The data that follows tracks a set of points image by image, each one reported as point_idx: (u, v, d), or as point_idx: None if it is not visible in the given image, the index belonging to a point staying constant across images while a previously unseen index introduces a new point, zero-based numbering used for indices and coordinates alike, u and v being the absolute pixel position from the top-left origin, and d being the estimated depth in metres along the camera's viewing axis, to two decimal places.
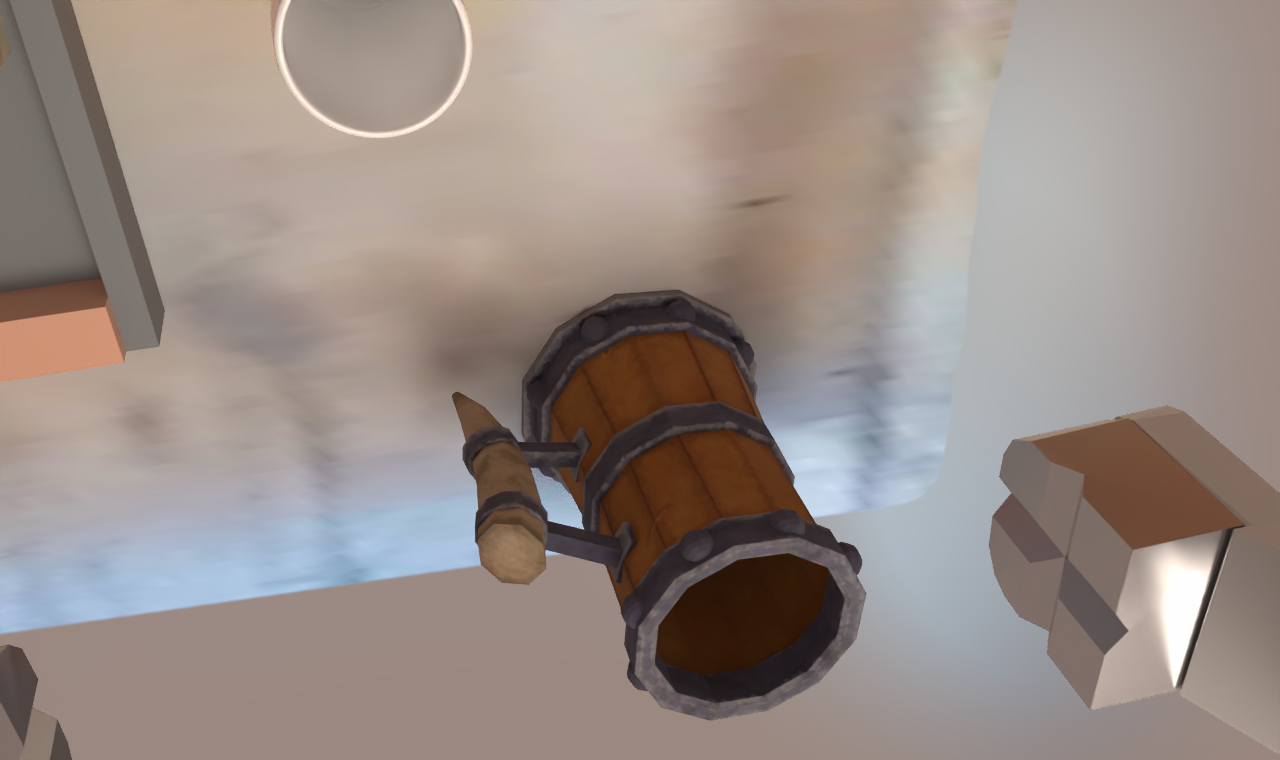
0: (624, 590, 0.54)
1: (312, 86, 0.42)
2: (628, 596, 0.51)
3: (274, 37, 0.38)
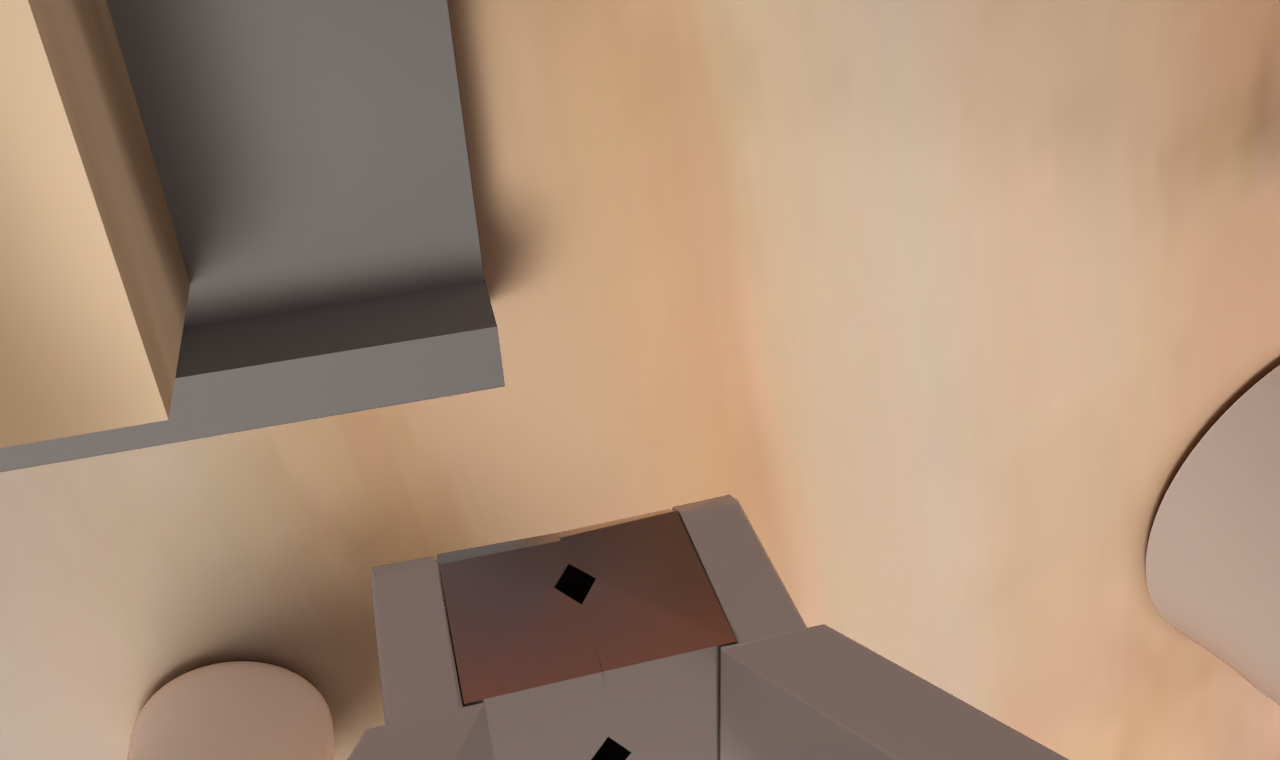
0: None
1: None
2: None
3: None
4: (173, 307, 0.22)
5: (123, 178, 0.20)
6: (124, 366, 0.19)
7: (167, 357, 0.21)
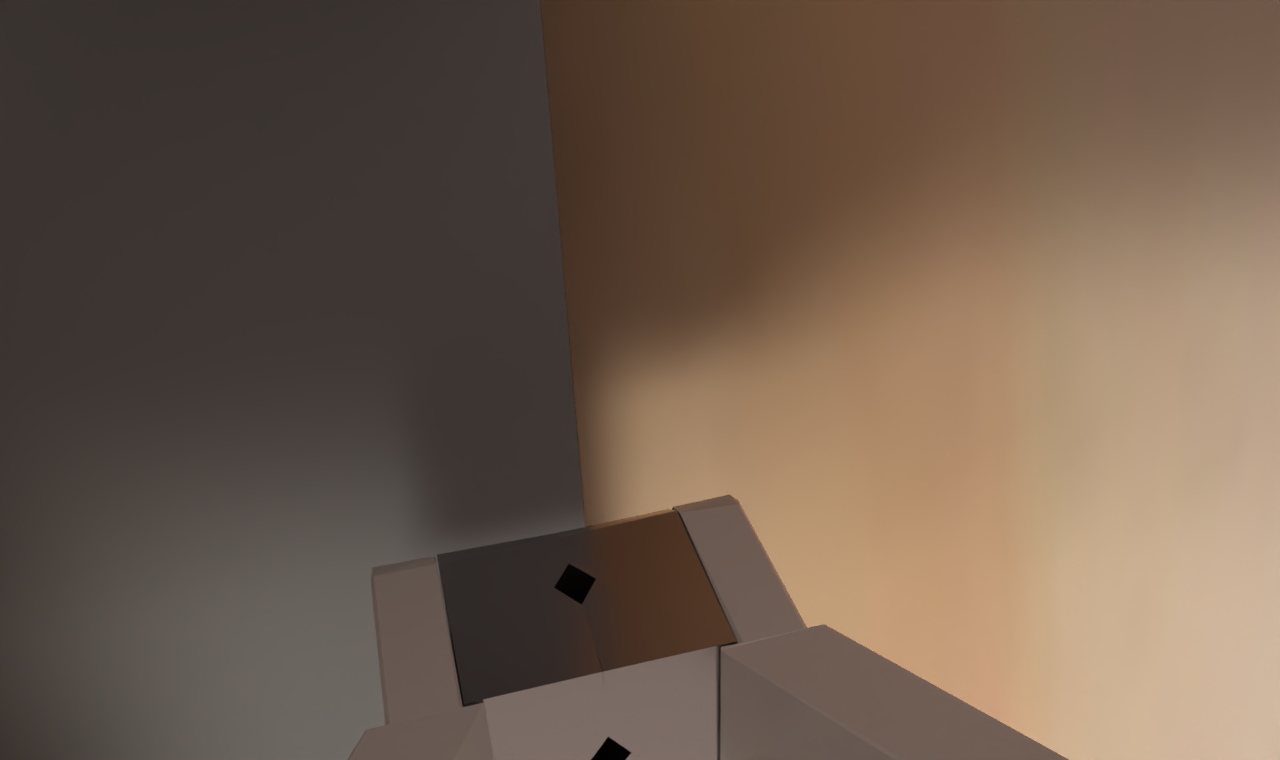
0: None
1: None
2: None
3: None
4: None
5: None
6: None
7: None
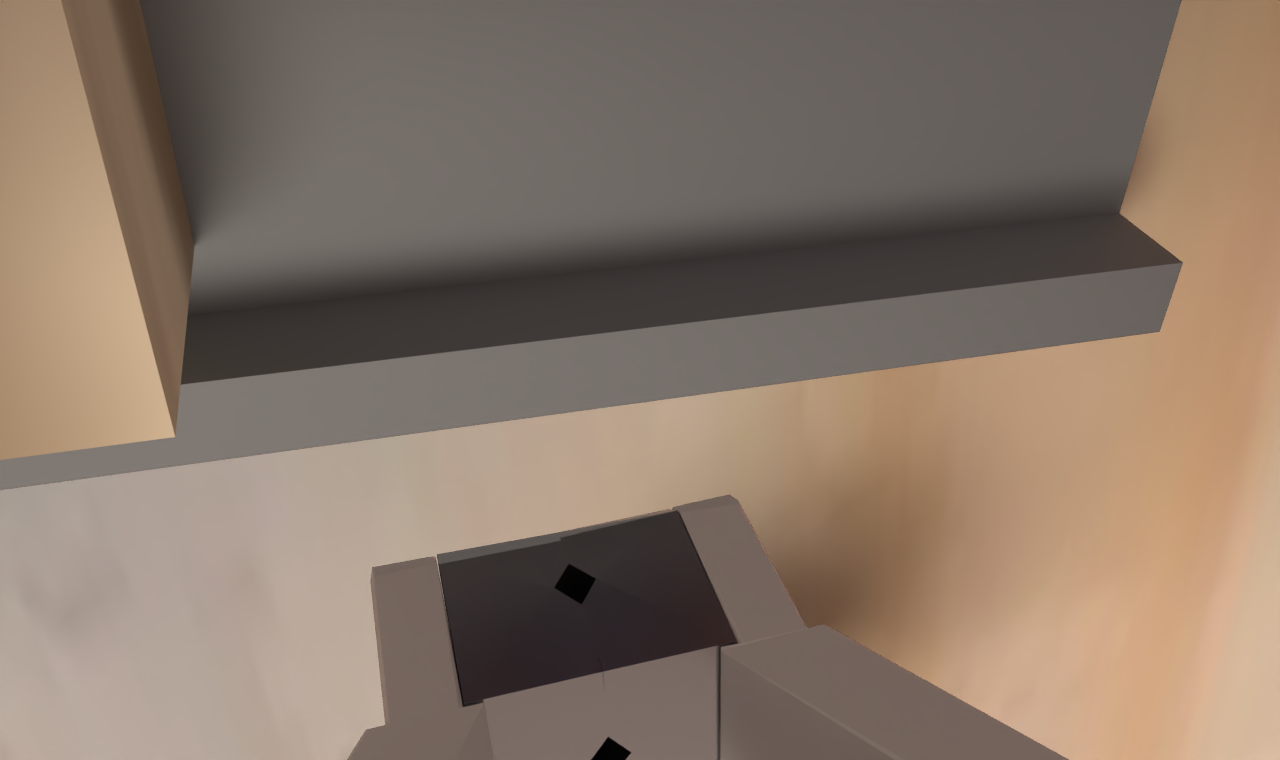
0: None
1: None
2: None
3: None
4: (178, 278, 0.16)
5: (125, 95, 0.14)
6: (118, 362, 0.14)
7: (173, 348, 0.15)
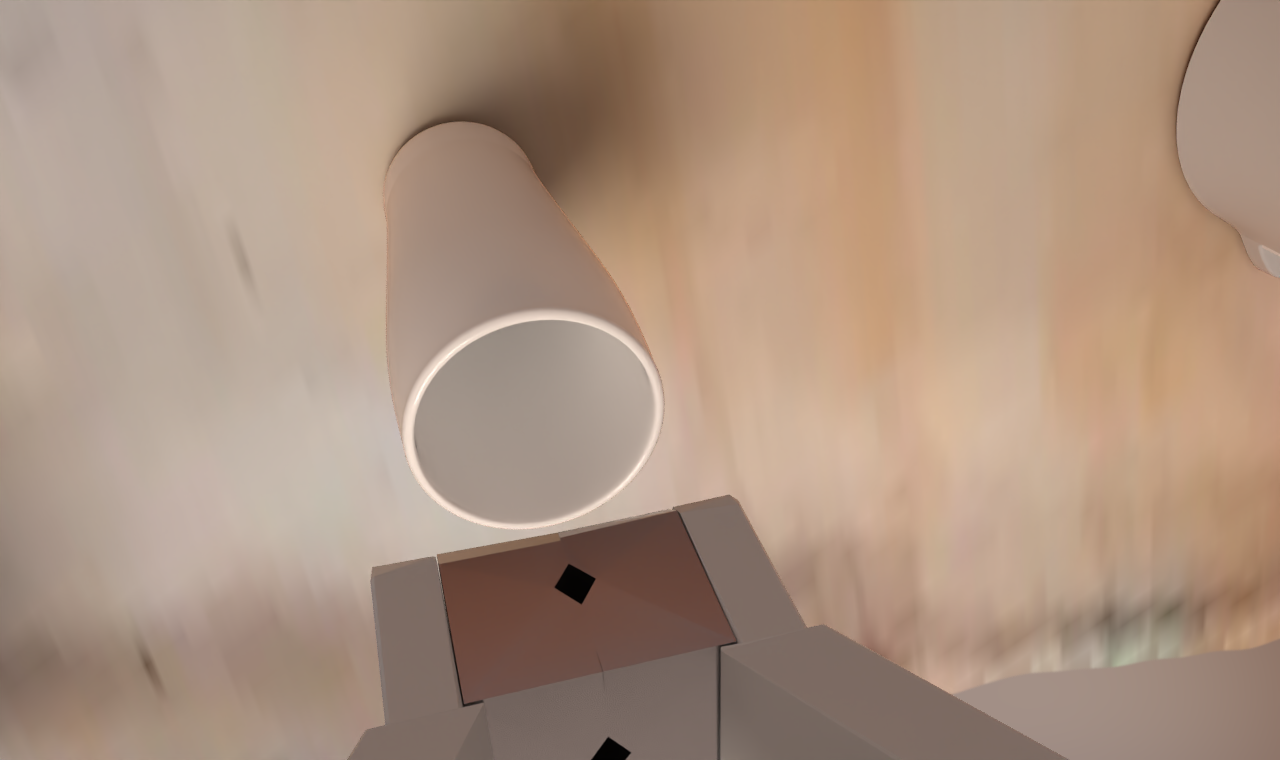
0: None
1: None
2: None
3: (552, 310, 0.27)
4: None
5: None
6: None
7: None
